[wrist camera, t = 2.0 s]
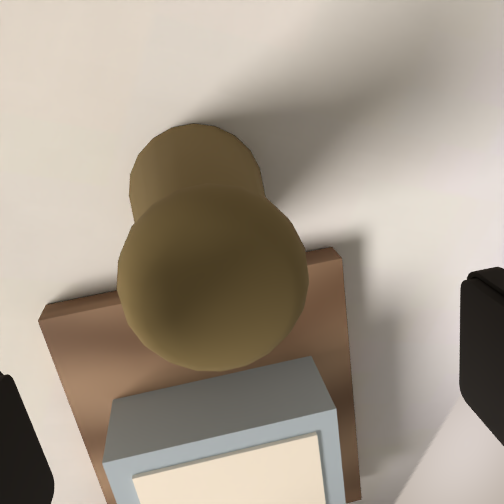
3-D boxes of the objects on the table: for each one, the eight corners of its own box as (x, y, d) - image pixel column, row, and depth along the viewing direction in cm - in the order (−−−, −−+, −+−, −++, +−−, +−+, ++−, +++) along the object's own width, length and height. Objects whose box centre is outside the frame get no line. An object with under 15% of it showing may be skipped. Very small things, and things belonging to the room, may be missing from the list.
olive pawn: (288, 173, 22) (388, 270, 12) (215, 275, 23) (250, 440, 13) (175, 94, 20) (181, 131, 10) (103, 211, 21) (42, 348, 11)
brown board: (46, 304, 23) (38, 320, 21) (332, 246, 24) (341, 258, 22) (129, 534, 29) (128, 558, 27) (352, 479, 30) (361, 499, 29)
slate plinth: (112, 399, 23) (101, 467, 19) (311, 355, 24) (337, 411, 20) (158, 537, 27) (156, 616, 23) (327, 495, 28) (353, 565, 24)
